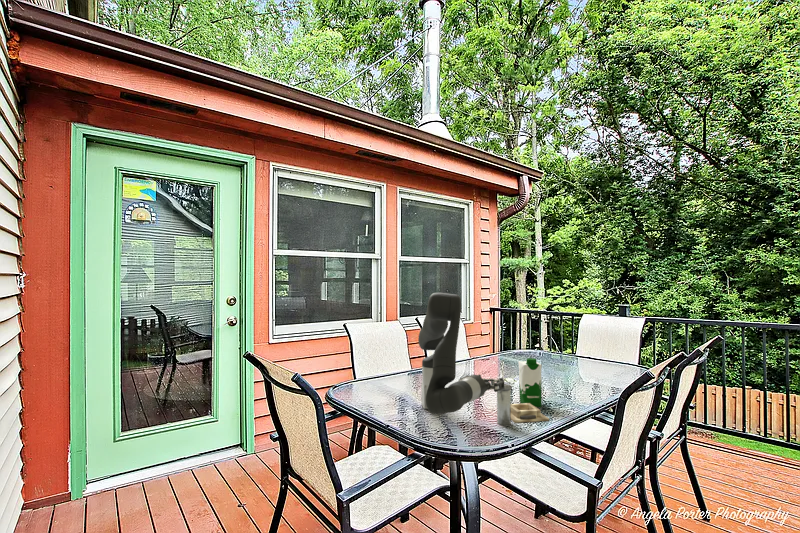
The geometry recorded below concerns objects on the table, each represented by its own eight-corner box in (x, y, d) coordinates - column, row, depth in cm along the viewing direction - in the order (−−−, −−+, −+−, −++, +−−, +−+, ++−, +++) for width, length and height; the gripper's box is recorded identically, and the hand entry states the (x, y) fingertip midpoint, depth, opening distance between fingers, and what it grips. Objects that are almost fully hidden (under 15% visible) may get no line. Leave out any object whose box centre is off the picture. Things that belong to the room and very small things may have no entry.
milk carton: (523, 408, 173) (523, 360, 173) (517, 401, 182) (516, 356, 182) (544, 407, 173) (543, 359, 174) (536, 401, 182) (535, 355, 183)
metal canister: (499, 426, 152) (499, 388, 152) (494, 421, 157) (493, 384, 158) (514, 425, 152) (514, 387, 153) (508, 420, 158) (507, 383, 158)
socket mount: (514, 422, 155) (514, 413, 155) (500, 410, 169) (500, 402, 169) (549, 420, 157) (548, 411, 157) (532, 409, 171) (532, 401, 171)
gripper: (489, 380, 129) (509, 370, 142) (450, 374, 138) (472, 366, 151) (490, 404, 129) (510, 392, 142) (450, 396, 138) (473, 386, 151)
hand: (490, 379), depth 146 cm, fingers open, 8 cm apart
